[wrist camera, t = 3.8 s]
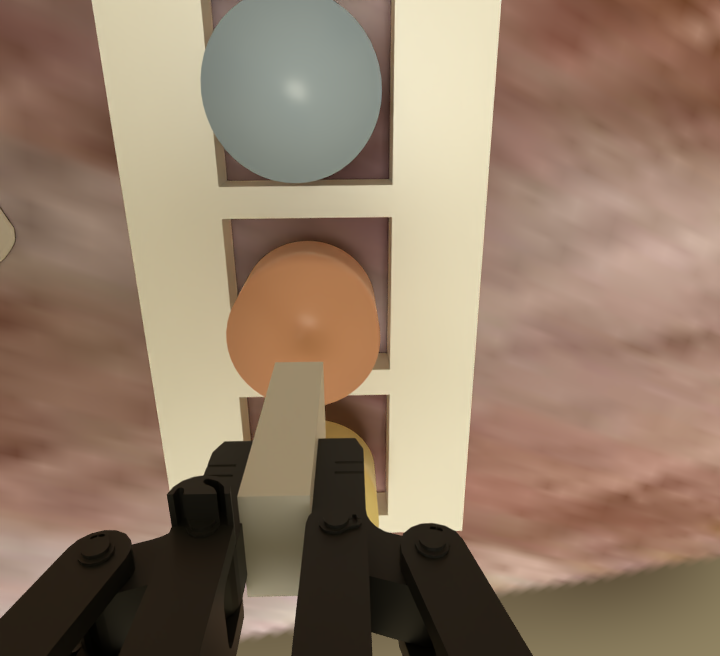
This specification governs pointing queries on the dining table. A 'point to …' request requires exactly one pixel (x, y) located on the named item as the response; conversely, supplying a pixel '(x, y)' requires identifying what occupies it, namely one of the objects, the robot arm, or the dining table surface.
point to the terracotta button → (305, 318)
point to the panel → (311, 200)
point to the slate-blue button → (291, 87)
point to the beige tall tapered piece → (5, 236)
